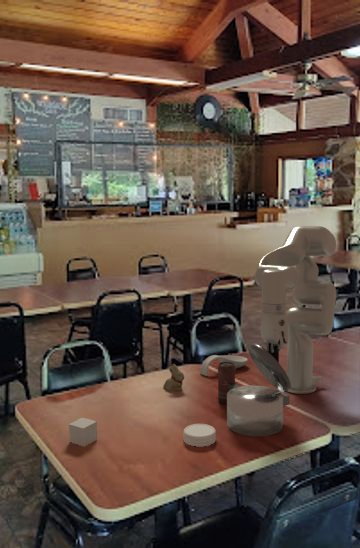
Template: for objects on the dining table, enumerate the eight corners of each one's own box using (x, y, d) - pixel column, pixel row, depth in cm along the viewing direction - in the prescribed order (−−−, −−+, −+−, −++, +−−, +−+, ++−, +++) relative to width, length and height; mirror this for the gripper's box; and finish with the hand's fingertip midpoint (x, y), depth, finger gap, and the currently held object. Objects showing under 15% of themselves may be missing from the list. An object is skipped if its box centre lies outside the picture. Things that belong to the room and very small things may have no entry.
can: (234, 404, 200) (234, 366, 198) (217, 403, 201) (216, 366, 199) (236, 398, 206) (236, 361, 204) (219, 397, 207) (219, 360, 205)
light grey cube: (84, 447, 169) (83, 428, 168) (69, 442, 172) (68, 424, 172) (97, 439, 174) (96, 421, 173) (83, 435, 177) (82, 417, 177)
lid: (265, 381, 194) (273, 375, 194) (295, 399, 176) (304, 392, 177) (240, 340, 188) (248, 333, 188) (269, 354, 171) (278, 347, 171)
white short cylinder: (205, 450, 166) (205, 439, 165) (177, 443, 171) (177, 432, 171) (221, 437, 174) (221, 427, 174) (194, 431, 179) (193, 420, 179)
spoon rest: (233, 361, 251) (233, 345, 250) (253, 367, 243) (253, 351, 241) (194, 372, 236) (193, 356, 235) (213, 379, 228) (213, 362, 226)
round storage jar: (259, 401, 202) (259, 375, 201) (299, 429, 179) (300, 399, 177) (208, 410, 195) (208, 383, 193) (243, 440, 171) (243, 409, 170)
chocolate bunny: (174, 393, 212) (174, 367, 211) (161, 388, 218) (161, 363, 217) (185, 389, 216) (185, 364, 215) (172, 384, 222) (172, 360, 220)
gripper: (296, 311, 174) (296, 367, 177) (271, 302, 188) (270, 355, 191) (276, 313, 172) (275, 371, 174) (251, 304, 185) (251, 358, 188)
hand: (273, 362), depth 183 cm, fingers closed
